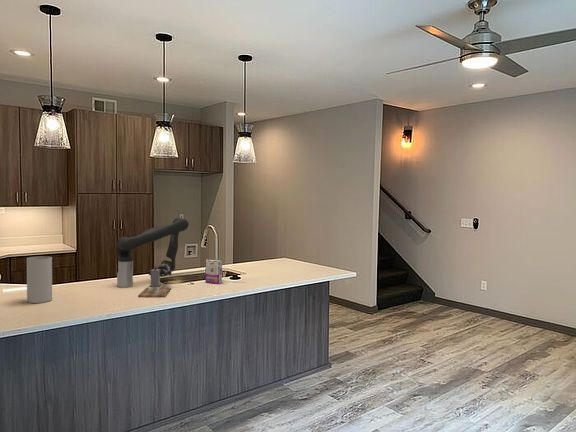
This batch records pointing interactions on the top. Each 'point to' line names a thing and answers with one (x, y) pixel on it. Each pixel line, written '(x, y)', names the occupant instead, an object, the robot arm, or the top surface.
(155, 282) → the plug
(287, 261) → the top surface
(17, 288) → the top surface
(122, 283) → the robot arm
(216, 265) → the candy bar box
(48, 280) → the cylinder vase
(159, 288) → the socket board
